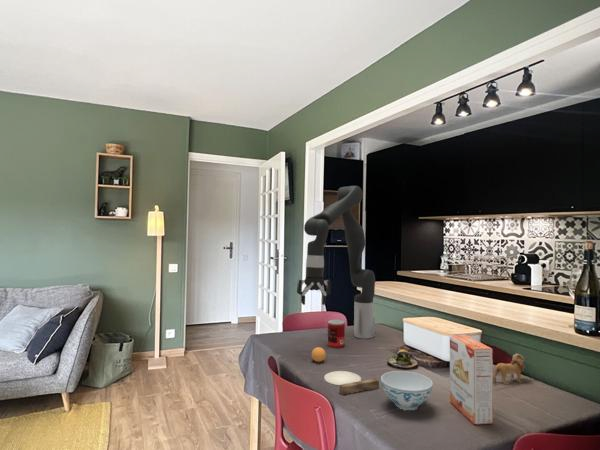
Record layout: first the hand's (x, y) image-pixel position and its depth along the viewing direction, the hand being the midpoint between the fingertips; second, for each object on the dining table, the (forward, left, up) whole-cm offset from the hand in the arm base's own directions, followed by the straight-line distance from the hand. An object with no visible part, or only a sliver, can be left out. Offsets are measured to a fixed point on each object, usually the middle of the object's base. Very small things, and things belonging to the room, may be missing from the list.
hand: (313, 304), depth 162 cm
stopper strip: (+1, +38, -21) cm, 44 cm away
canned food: (-16, -8, -22) cm, 28 cm away
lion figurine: (-51, +52, -22) cm, 76 cm away
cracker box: (-20, +64, -22) cm, 70 cm away
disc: (+1, +27, -21) cm, 34 cm away
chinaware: (-6, +53, -22) cm, 57 cm away
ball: (+1, +8, -19) cm, 20 cm away
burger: (-28, +24, -22) cm, 43 cm away
